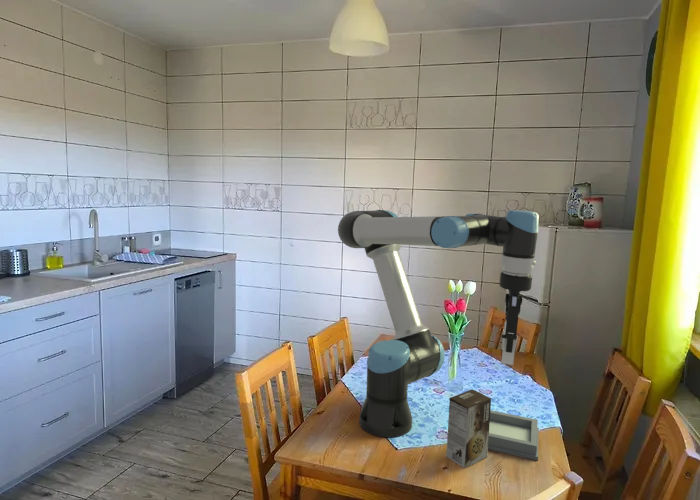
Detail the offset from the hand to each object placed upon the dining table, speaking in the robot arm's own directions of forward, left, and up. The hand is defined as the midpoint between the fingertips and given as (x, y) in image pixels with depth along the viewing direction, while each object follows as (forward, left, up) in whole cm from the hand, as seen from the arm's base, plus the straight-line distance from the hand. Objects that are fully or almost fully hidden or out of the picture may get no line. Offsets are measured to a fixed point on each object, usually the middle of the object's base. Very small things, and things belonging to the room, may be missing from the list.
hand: (507, 354), depth 120 cm
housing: (+1, +7, -26) cm, 27 cm away
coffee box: (-8, -7, -27) cm, 29 cm away
